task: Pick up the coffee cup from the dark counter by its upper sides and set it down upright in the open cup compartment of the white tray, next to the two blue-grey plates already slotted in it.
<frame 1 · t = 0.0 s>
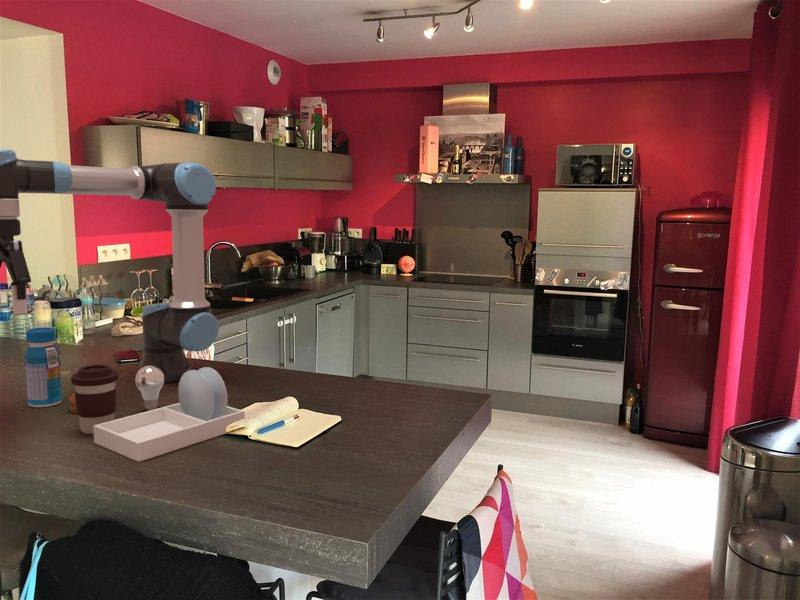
hand: (7, 310, 152), 28 cm above the counter, fingers open, 13 cm apart
beverage bottle: (45, 404, 174), on the counter
burger: (89, 410, 170), on the counter
coffee cup: (97, 430, 155), on the counter
light bulb: (151, 411, 169), on the counter
white tray: (172, 434, 152), on the counter
plates: (202, 395, 158), in the white tray, point 8 cm above the counter
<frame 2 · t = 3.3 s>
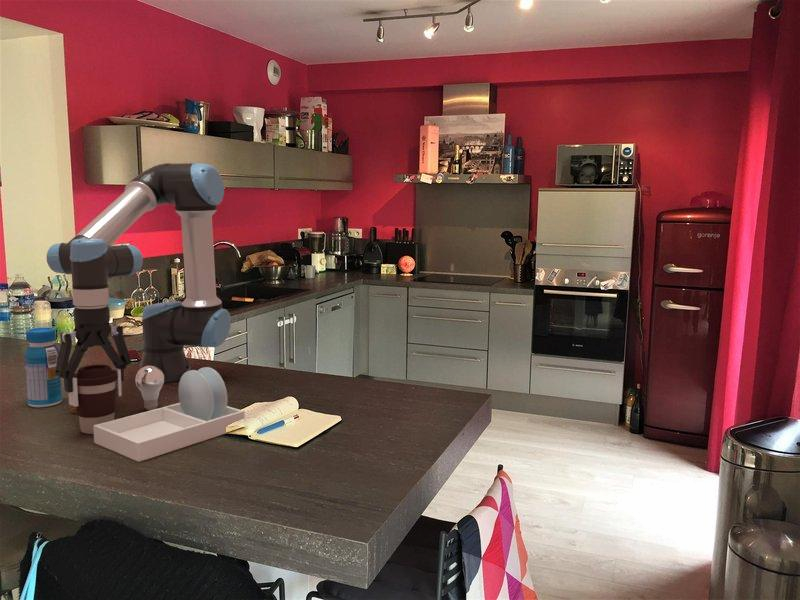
hand: (96, 400, 154), 7 cm above the counter, fingers closed on coffee cup, 10 cm apart
coffee cup: (97, 430, 155), on the counter, touching gripper
everything else where it was.
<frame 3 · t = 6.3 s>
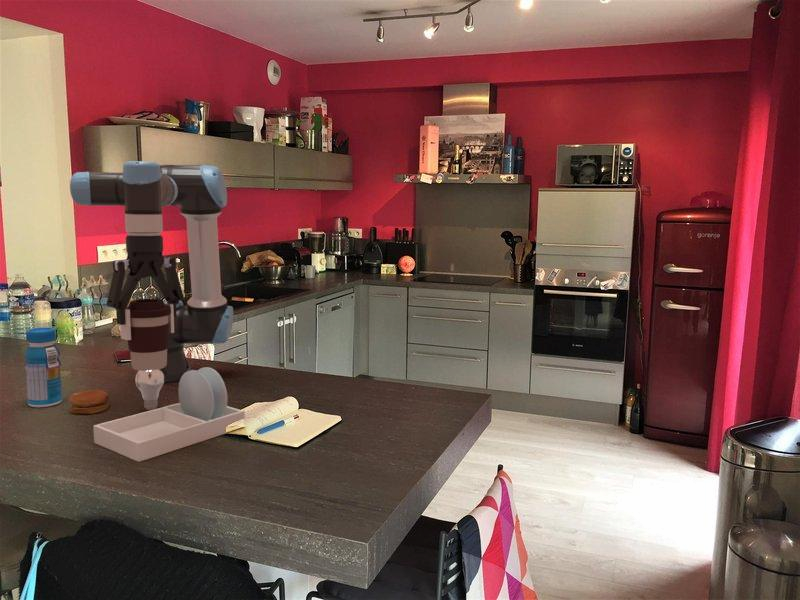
hand: (148, 335, 144), 24 cm above the counter, fingers closed on coffee cup, 10 cm apart
coffee cup: (149, 368, 146), point 17 cm above the counter, touching gripper
everything else where it was.
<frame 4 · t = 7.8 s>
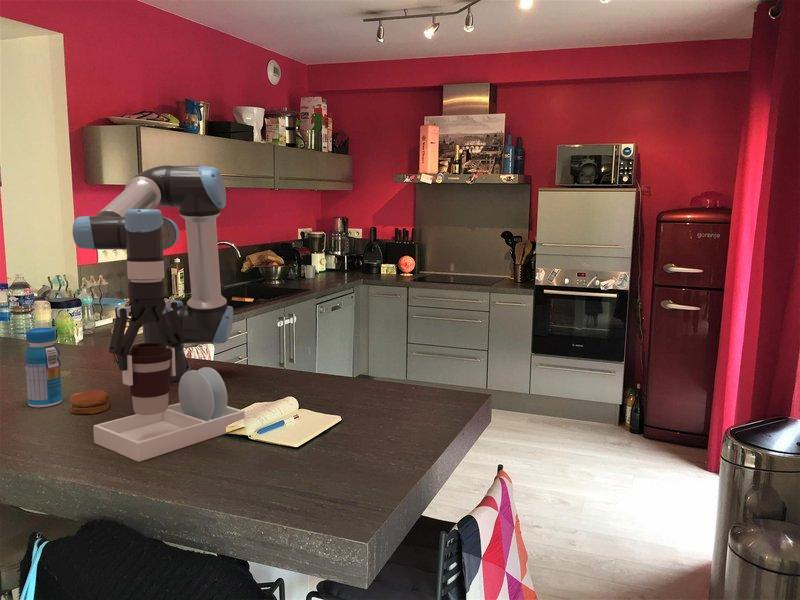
hand: (149, 379, 146), 14 cm above the counter, fingers closed on coffee cup, 10 cm apart
coffee cup: (151, 411, 147), point 7 cm above the counter, touching gripper
everything else where it was.
when the fingers open (10 cm above the counter, at t = 9.3 s): coffee cup drops 1 cm, resting on white tray.
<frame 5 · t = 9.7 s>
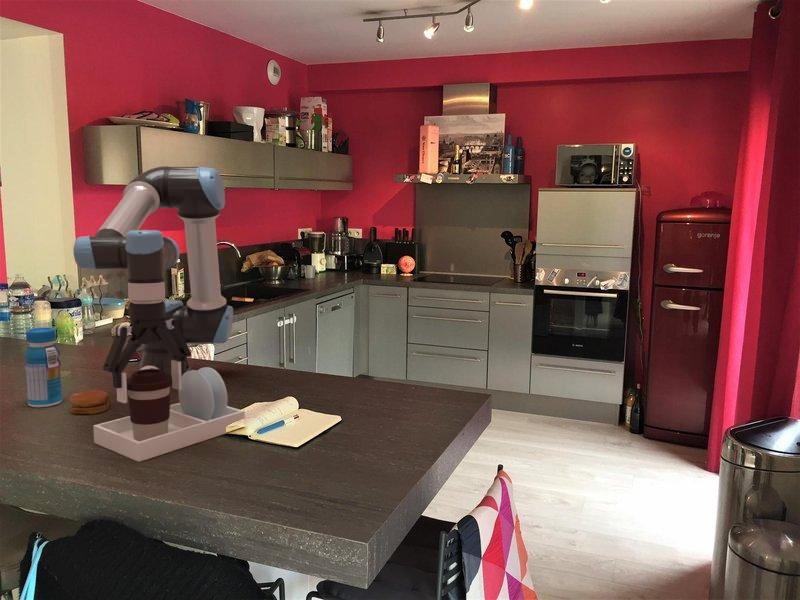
hand: (150, 395, 146), 11 cm above the counter, fingers open, 13 cm apart
coffee cup: (151, 437, 148), point 1 cm above the counter, touching white tray
everything else where it was.
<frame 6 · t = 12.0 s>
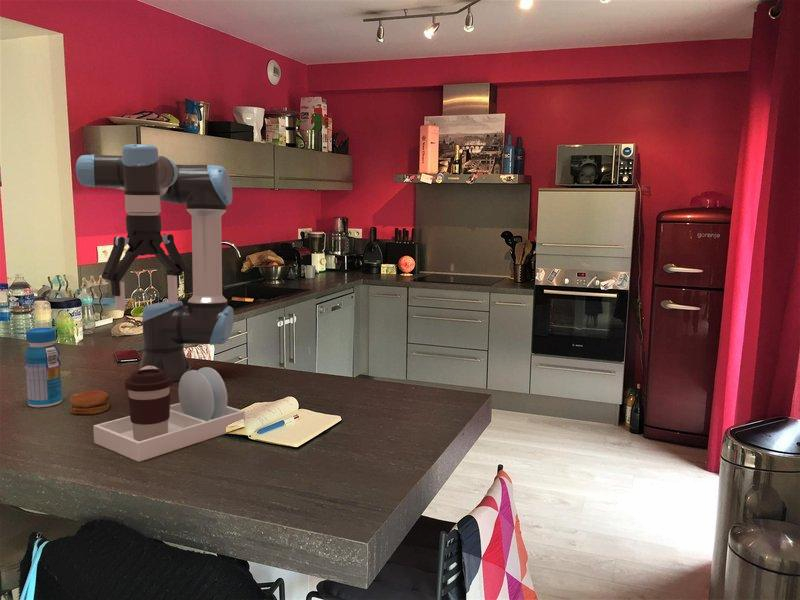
hand: (147, 306, 152), 29 cm above the counter, fingers open, 13 cm apart
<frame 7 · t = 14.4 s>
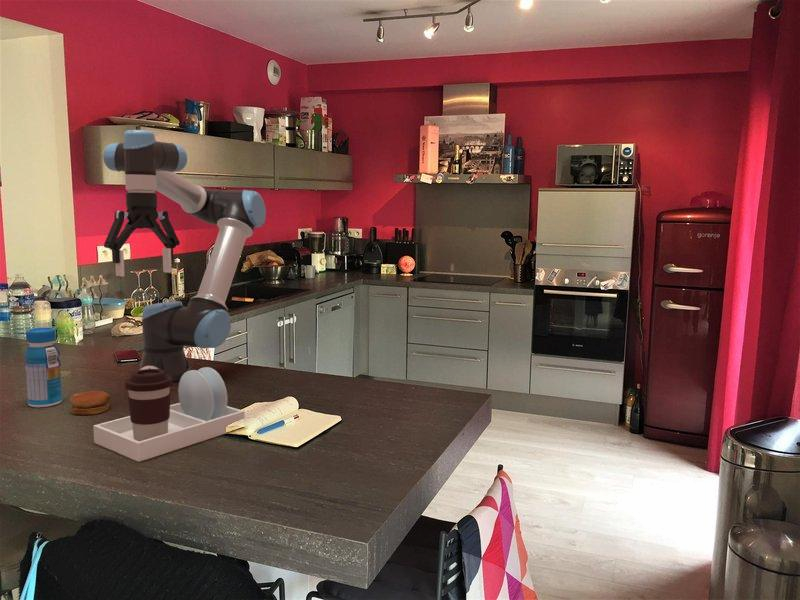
hand: (144, 274, 172), 35 cm above the counter, fingers open, 13 cm apart
at the end: coffee cup inside the target area on the white tray (0.5 cm from its centre), point 0.8 cm above the white tray's base; coffee cup tilted 0°; the gripper is holding nothing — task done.
